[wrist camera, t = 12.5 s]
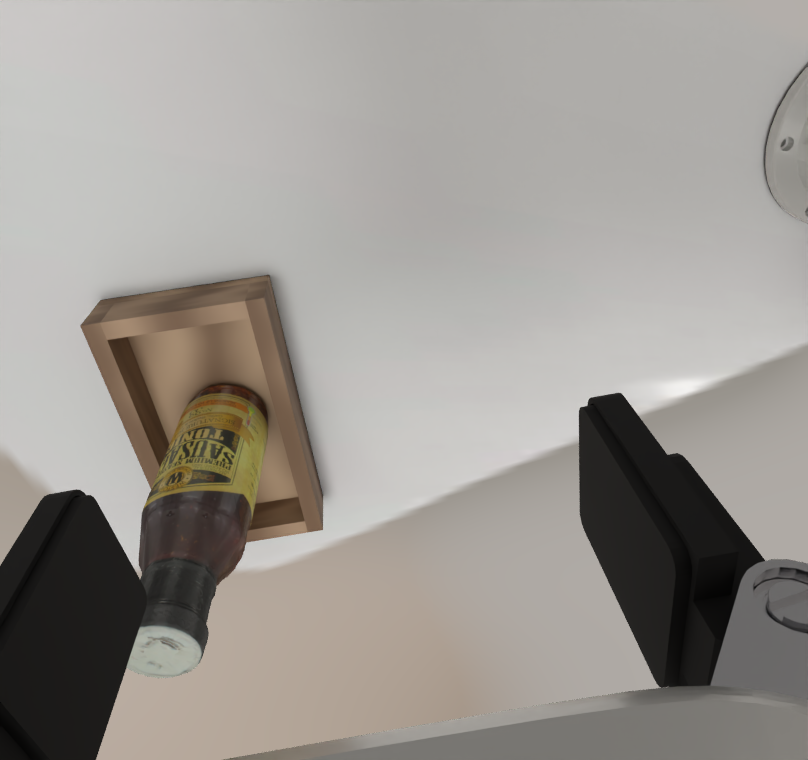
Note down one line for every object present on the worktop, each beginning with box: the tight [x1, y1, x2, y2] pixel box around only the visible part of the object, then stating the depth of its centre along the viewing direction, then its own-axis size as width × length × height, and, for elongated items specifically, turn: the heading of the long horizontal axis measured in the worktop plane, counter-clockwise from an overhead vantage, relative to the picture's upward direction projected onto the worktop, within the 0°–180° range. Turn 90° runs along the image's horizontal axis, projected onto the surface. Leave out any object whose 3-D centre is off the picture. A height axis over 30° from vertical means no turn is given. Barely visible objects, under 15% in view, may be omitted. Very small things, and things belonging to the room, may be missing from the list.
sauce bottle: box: [127, 385, 268, 678], centre depth 37 cm, size 6×6×20 cm
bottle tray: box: [81, 275, 323, 542], centre depth 45 cm, size 11×20×4 cm, turn 6°
